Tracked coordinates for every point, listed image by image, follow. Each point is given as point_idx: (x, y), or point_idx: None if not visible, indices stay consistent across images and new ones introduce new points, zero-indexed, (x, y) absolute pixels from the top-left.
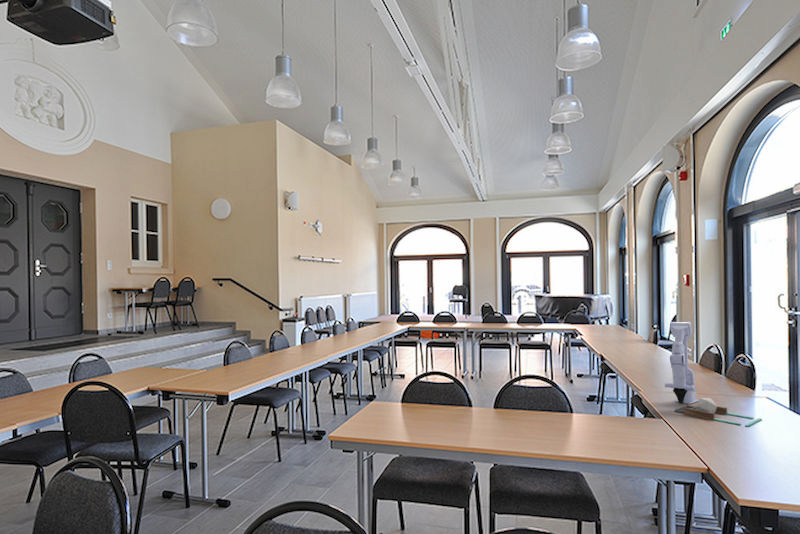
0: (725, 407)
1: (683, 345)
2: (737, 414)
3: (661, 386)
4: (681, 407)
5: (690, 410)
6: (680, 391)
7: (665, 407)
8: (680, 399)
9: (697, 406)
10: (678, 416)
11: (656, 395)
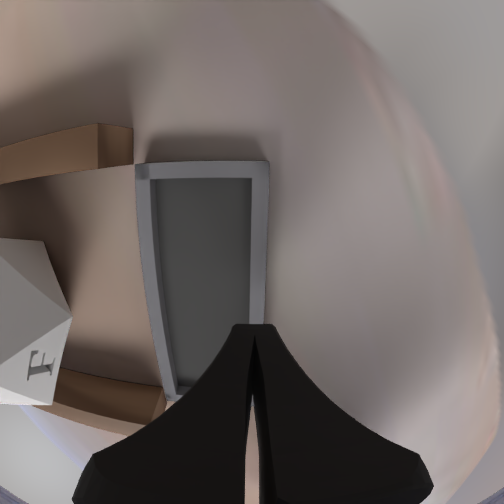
0: None
1: None
2: None
3: (435, 496)
4: (253, 311)
5: (42, 136)
6: (131, 487)
7: (408, 261)
8: (234, 354)
9: (7, 258)
10: (150, 16)
11: (464, 438)
